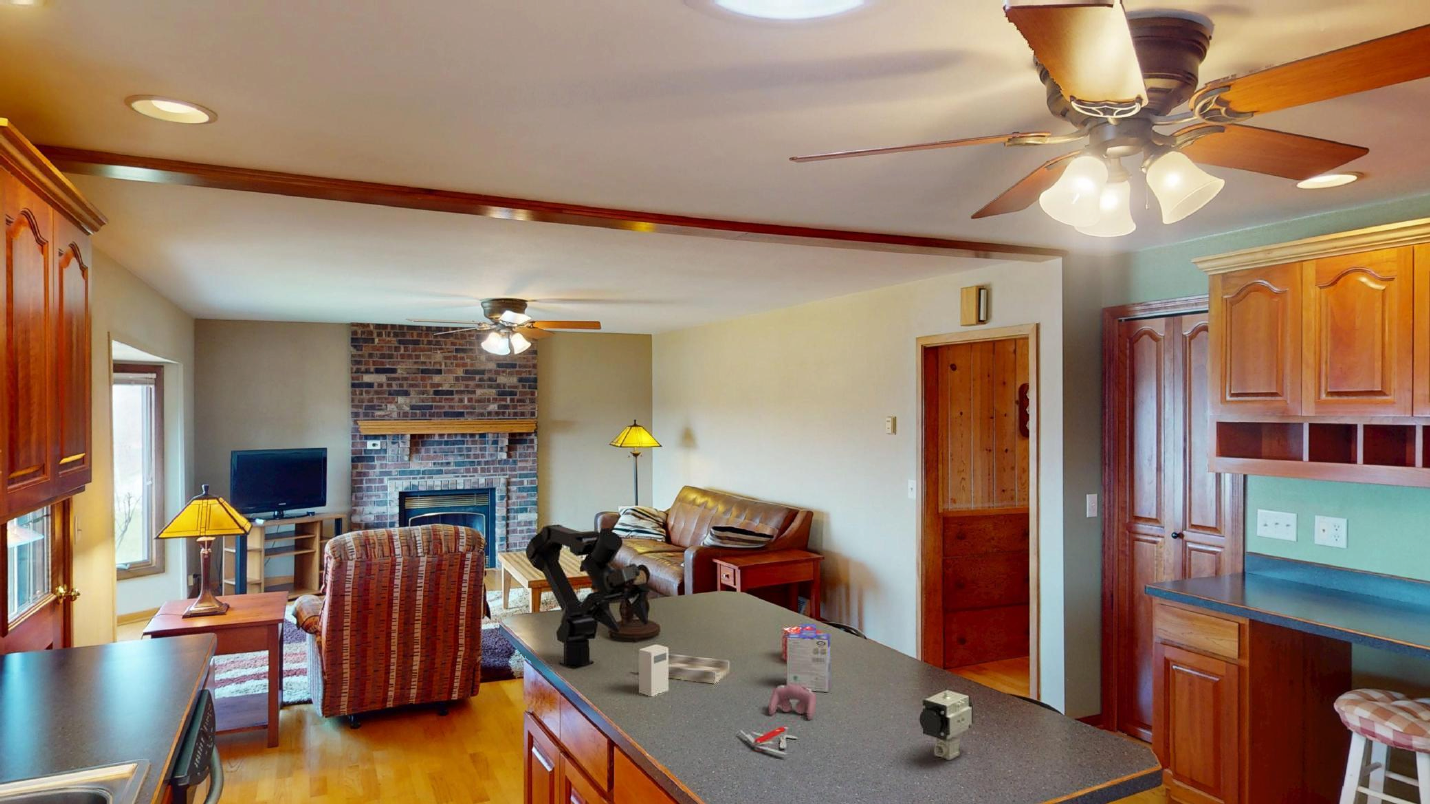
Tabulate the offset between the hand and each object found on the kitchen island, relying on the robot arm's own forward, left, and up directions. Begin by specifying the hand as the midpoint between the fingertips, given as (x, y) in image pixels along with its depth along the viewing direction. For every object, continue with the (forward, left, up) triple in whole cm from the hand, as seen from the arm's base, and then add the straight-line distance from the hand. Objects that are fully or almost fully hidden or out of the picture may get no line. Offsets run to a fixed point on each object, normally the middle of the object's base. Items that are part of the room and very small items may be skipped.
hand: (633, 627), depth 197 cm
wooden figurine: (-31, +30, -14) cm, 45 cm away
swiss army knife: (+45, -5, -14) cm, 47 cm away
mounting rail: (+3, +14, -13) cm, 20 cm away
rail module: (+7, 0, -14) cm, 15 cm away
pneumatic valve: (+74, +11, -14) cm, 76 cm away
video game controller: (+39, +10, -14) cm, 43 cm away
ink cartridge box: (+32, +26, -14) cm, 43 cm away
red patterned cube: (+19, +42, -14) cm, 48 cm away
